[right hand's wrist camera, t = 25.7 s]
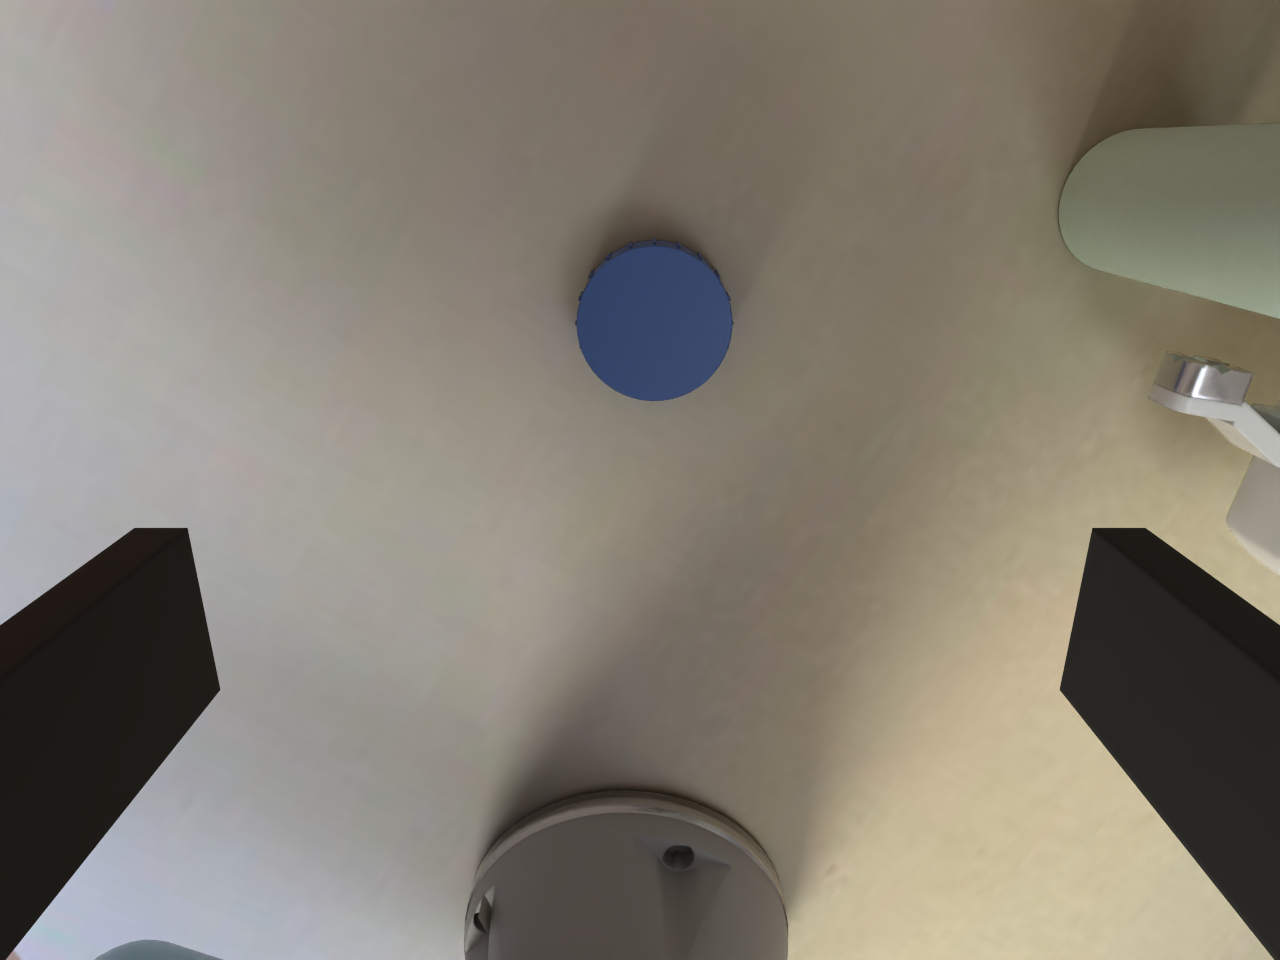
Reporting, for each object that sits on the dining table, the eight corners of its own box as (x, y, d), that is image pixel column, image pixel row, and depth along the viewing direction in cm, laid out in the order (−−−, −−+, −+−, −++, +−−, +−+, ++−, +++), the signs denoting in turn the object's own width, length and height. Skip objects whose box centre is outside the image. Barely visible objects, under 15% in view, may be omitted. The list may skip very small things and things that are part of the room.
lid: (742, 251, 30) (748, 258, 28) (713, 397, 32) (717, 413, 30) (590, 226, 30) (586, 231, 28) (570, 375, 32) (565, 389, 30)
